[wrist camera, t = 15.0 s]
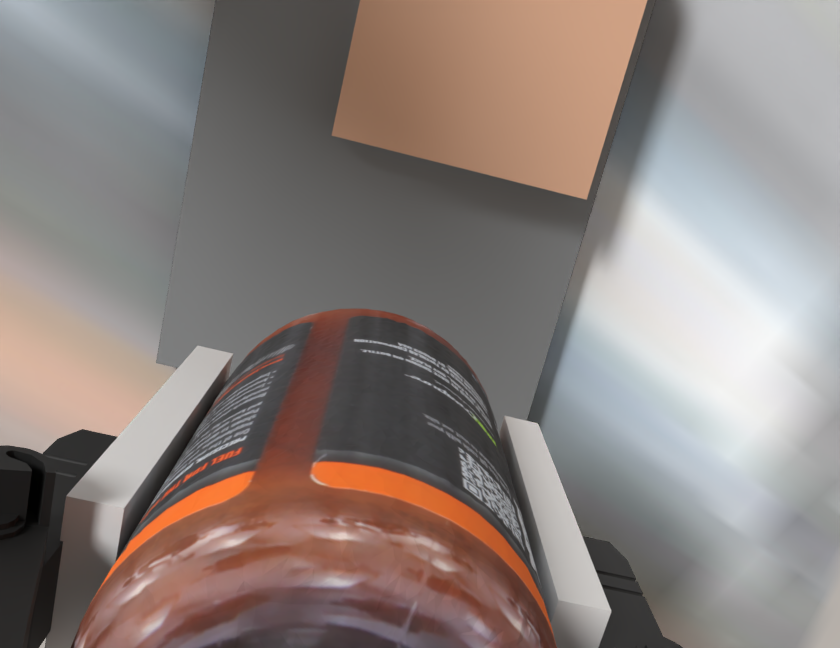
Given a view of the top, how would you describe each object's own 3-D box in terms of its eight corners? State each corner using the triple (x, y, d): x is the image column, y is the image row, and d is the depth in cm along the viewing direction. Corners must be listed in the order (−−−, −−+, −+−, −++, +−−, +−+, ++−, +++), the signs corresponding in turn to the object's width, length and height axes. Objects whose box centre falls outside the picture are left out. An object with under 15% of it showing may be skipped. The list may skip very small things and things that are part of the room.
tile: (393, -158, 21) (671, -79, 22) (394, -142, 23) (655, -69, 23) (331, 135, 24) (586, 199, 24) (336, 133, 25) (576, 193, 26)
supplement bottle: (192, 510, 18) (-163, 1169, 7) (262, 262, 16) (-51, 599, 5) (444, 582, 18) (489, 1296, 7) (535, 348, 17) (764, 817, 6)
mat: (258, -210, 23) (252, -223, 22) (675, -91, 24) (685, -99, 23) (164, 353, 28) (156, 362, 27) (515, 433, 29) (519, 444, 28)
